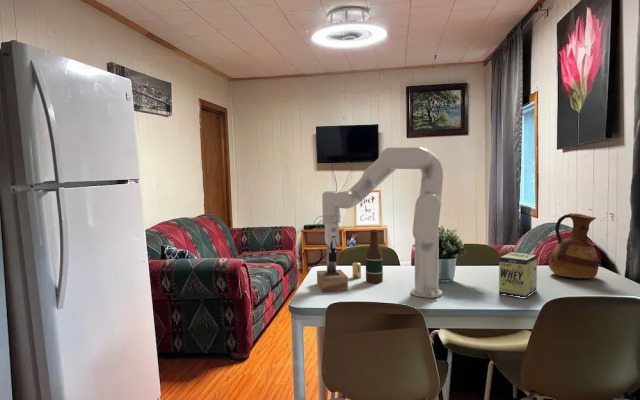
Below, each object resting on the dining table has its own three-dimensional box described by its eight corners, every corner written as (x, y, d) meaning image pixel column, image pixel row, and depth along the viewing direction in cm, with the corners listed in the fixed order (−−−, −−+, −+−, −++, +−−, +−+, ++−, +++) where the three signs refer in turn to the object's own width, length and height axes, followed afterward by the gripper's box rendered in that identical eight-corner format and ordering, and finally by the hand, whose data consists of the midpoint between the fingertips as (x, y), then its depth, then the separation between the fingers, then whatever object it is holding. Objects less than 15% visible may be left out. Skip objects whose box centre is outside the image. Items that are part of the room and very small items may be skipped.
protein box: (498, 294, 174) (498, 257, 173) (510, 286, 186) (511, 251, 185) (525, 299, 167) (526, 260, 166) (537, 291, 179) (537, 254, 178)
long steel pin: (336, 272, 187) (336, 241, 186) (327, 273, 187) (327, 241, 186) (335, 270, 191) (334, 239, 190) (326, 271, 191) (325, 240, 190)
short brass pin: (361, 278, 204) (361, 263, 204) (353, 278, 203) (353, 264, 203) (359, 276, 208) (359, 262, 208) (351, 276, 207) (351, 262, 207)
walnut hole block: (347, 290, 183) (347, 276, 183) (322, 292, 182) (322, 278, 181) (340, 282, 197) (340, 269, 197) (317, 283, 195) (317, 270, 195)
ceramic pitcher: (596, 284, 187) (598, 216, 185) (545, 278, 199) (546, 214, 198) (599, 275, 203) (601, 212, 201) (552, 270, 215) (553, 210, 213)
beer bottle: (382, 284, 193) (381, 231, 192) (365, 283, 195) (364, 231, 193) (383, 279, 201) (382, 229, 199) (366, 279, 203) (366, 228, 201)
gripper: (343, 221, 180) (344, 264, 181) (335, 217, 196) (335, 256, 198) (326, 221, 179) (326, 265, 180) (319, 217, 195) (319, 257, 196)
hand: (331, 260), depth 189 cm, fingers closed on long steel pin, 4 cm apart
